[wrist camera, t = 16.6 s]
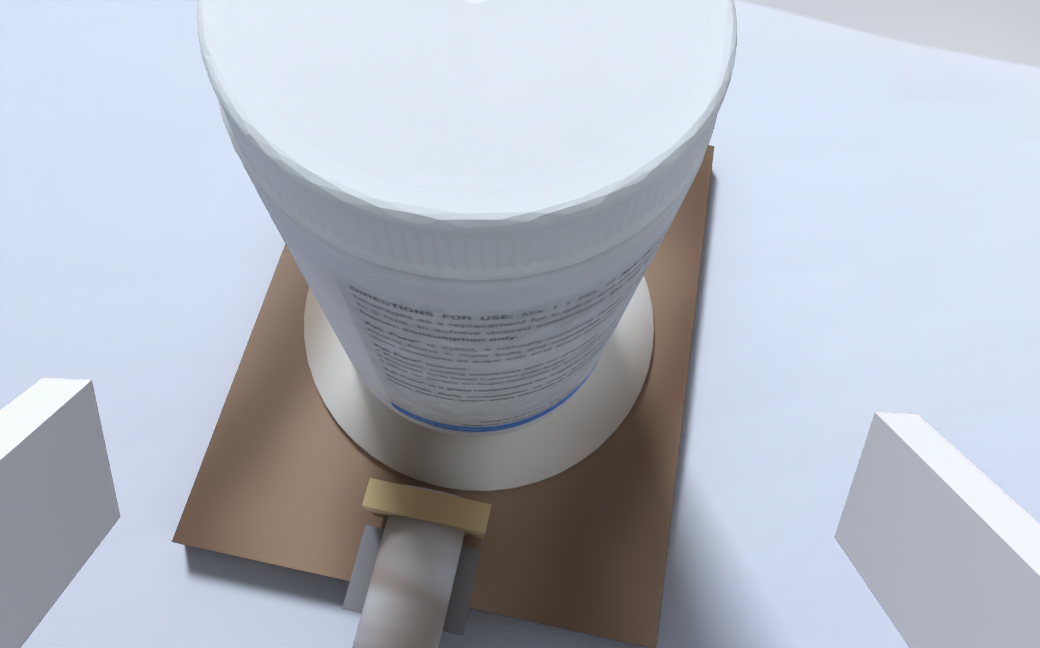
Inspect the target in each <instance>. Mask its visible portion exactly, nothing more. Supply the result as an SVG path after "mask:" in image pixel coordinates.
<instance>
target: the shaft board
mask: <svg viewBox="0 0 1040 648" xmlns="http://www.w3.org/2000/svg"><path fill="white" fill-rule="evenodd" d="M713 152H714V146H710V145H708V146H707V149H706V152H705V155H704V158H703V161H702V164H701V166H700V168H699V170H698V172H697V174H696V176H695V178H694V180H693V182H692V184H691V186H690V188H689V190H688V192H687V194H686V196H685V198H684V200H683V202H682V204H681V206H680V208H679V210H678V212H677V214H676V216H675V218H674V220H673V222H672V223H671V225H670V227H669V229H668V231H667V233H666V235H665V237H664V239H663V240H662V242H661V244H660V246H659V248H658V250H657V252H656V254H655V255H654V257H653V259H652V261H651V263H650V265H649V267H648V269H647V270H646V272H645V274H644V276H643V278H642V280H641V282H640V284H639V285H638V287H637V289H636V291H635V293H634V295H633V297H632V299H631V300H630V302H629V304H628V306H627V308H626V310H625V312H624V314H623V316H622V317H621V319H620V321H619V323H618V325H617V327H616V329H615V331H614V333H613V334H612V336H611V338H610V340H609V342H608V344H607V346H606V348H605V349H604V351H603V353H602V355H601V357H600V359H599V361H598V362H597V364H596V366H595V368H594V369H593V371H592V373H591V374H590V376H589V377H588V379H587V380H586V382H585V383H584V385H583V386H582V387H581V388H580V389H579V390H578V392H577V393H576V394H575V395H574V396H573V397H572V399H571V400H570V401H569V402H567V403H566V404H565V405H564V406H563V407H561V408H560V409H559V410H557V411H556V412H554V413H553V414H552V415H550V416H549V417H547V418H545V419H543V420H541V421H539V422H537V423H535V424H533V425H531V426H528V427H526V428H523V429H521V430H518V431H514V432H511V433H506V434H501V435H495V436H486V437H466V436H456V435H451V434H446V433H442V432H438V431H435V430H432V429H429V428H426V427H423V426H420V425H418V424H416V423H413V422H411V421H409V420H407V419H406V418H404V417H402V416H400V415H399V414H397V413H396V412H394V411H393V410H392V409H390V408H389V407H387V406H386V405H385V404H384V403H383V402H382V401H380V400H379V399H378V398H377V397H376V396H375V395H374V394H373V393H372V392H371V391H370V389H369V388H368V387H367V386H366V384H365V383H364V381H363V380H362V379H361V377H360V376H359V374H358V372H357V371H356V369H355V367H354V366H353V364H352V362H351V361H350V359H349V357H348V355H347V354H346V352H345V350H344V348H343V346H342V345H341V343H340V341H339V339H338V337H337V336H336V334H335V332H334V330H333V328H332V327H331V325H330V323H329V321H328V320H327V318H326V316H325V314H324V312H323V311H322V309H321V307H320V305H319V303H318V302H317V300H316V298H315V296H314V294H313V293H312V291H311V289H310V287H309V285H308V284H307V282H306V280H305V278H304V276H303V275H302V273H301V271H300V269H299V267H298V266H297V264H296V262H295V260H294V258H293V256H292V255H291V253H290V251H289V249H288V247H287V245H286V244H285V247H284V249H283V252H282V254H281V257H280V260H279V262H278V265H277V268H276V270H275V273H274V275H273V278H272V281H271V283H270V286H269V288H268V291H267V294H266V296H265V299H264V302H263V304H262V307H261V309H260V312H259V315H258V317H257V320H256V323H255V325H254V328H253V330H252V333H251V336H250V338H249V341H248V343H247V346H246V349H245V351H244V354H243V357H242V359H241V362H240V364H239V367H238V370H237V372H236V375H235V378H234V380H233V383H232V385H231V388H230V391H229V393H228V396H227V398H226V401H225V404H224V406H223V409H222V412H221V414H220V417H219V419H218V422H217V425H216V427H215V430H214V433H213V435H212V438H211V440H210V443H209V446H208V448H207V451H206V453H205V456H204V459H203V461H202V464H201V467H200V469H199V472H198V474H197V477H196V480H195V482H194V485H193V488H192V490H191V493H190V495H189V498H188V501H187V503H186V506H185V508H184V511H183V514H182V516H181V519H180V522H179V524H178V527H177V529H176V532H175V535H174V537H173V540H172V542H175V543H179V544H184V545H188V546H193V547H197V548H202V549H206V550H211V551H215V552H220V553H224V554H229V555H233V556H238V557H242V558H247V559H251V560H256V561H260V562H265V563H269V564H274V565H278V566H283V567H288V568H292V569H297V570H301V571H306V572H310V573H315V574H319V575H324V576H328V577H333V578H337V579H342V580H346V581H350V582H349V586H348V589H347V593H346V596H345V600H344V603H343V607H342V609H347V610H351V611H356V612H360V613H362V614H361V618H360V622H359V625H358V629H357V633H356V636H355V640H354V644H353V648H439V645H440V640H441V636H442V631H446V632H450V633H455V634H459V635H463V632H464V627H465V623H466V618H467V613H468V609H469V608H473V609H477V610H482V611H486V612H491V613H495V614H500V615H504V616H509V617H513V618H518V619H522V620H527V621H531V622H536V623H541V624H545V625H550V626H554V627H559V628H563V629H568V630H572V631H577V632H581V633H586V634H590V635H595V636H599V637H604V638H608V639H613V640H617V641H622V642H626V643H631V644H635V645H640V646H644V647H649V648H656V643H657V635H658V626H659V617H660V609H661V600H662V591H663V583H664V574H665V566H666V557H667V548H668V540H669V531H670V523H671V514H672V505H673V497H674V488H675V480H676V471H677V462H678V454H679V445H680V436H681V428H682V419H683V411H684V402H685V393H686V385H687V376H688V368H689V359H690V350H691V342H692V333H693V325H694V316H695V307H696V299H697V290H698V281H699V273H700V264H701V256H702V247H703V238H704V230H705V221H706V213H707V204H708V195H709V187H710V178H711V170H712V161H713Z"/></svg>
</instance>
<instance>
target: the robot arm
mask: <svg viewBox="0 0 1040 648" xmlns="http://www.w3.org/2000/svg"><path fill="white" fill-rule="evenodd" d="M119 518H120V513H119V508H118V503H117V499H116V494H115V489H114V484H113V479H112V475H111V470H110V465H109V460H108V455H107V450H106V446H105V441H104V436H103V431H102V426H101V422H100V417H99V412H98V407H97V402H96V398H95V393H94V388H93V383H92V380H80V379H56V378H42V379H40V380H39V381H38V382H36V383H35V384H34V385H33V386H31V387H30V388H29V389H27V390H26V391H25V392H24V393H22V394H21V395H20V396H18V397H17V398H16V399H14V400H13V401H12V402H11V403H9V404H8V405H7V406H5V407H4V408H3V409H2V410H0V648H21V647H22V645H23V644H24V643H25V641H26V640H27V639H28V637H29V636H30V635H31V633H32V632H33V631H34V629H35V628H36V627H37V626H38V624H39V623H40V622H41V620H42V619H43V618H44V616H45V615H46V614H47V612H48V611H49V610H50V608H51V607H52V606H53V605H54V603H55V602H56V601H57V599H58V598H59V597H60V595H61V594H62V593H63V591H64V590H65V589H66V587H67V586H68V585H69V584H70V582H71V581H72V580H73V578H74V577H75V576H76V574H77V573H78V572H79V570H80V569H81V568H82V566H83V565H84V564H85V563H86V561H87V560H88V559H89V557H90V556H91V555H92V553H93V552H94V551H95V549H96V548H97V547H98V545H99V544H100V543H101V542H102V540H103V539H104V538H105V536H106V535H107V534H108V532H109V531H110V530H111V528H112V527H113V526H114V525H115V523H116V522H117V521H118V519H119ZM835 539H836V540H837V542H838V543H839V545H840V546H841V548H842V549H843V551H844V552H845V554H846V555H847V557H848V558H849V560H850V561H851V562H852V564H853V565H854V567H855V568H856V570H857V571H858V573H859V574H860V576H861V577H862V579H863V580H864V582H865V583H866V585H867V586H868V588H869V589H870V590H871V592H872V593H873V595H874V596H875V598H876V599H877V601H878V602H879V604H880V605H881V607H882V608H883V610H884V611H885V613H886V614H887V616H888V617H889V618H890V620H891V621H892V623H893V624H894V626H895V627H896V629H897V630H898V632H899V633H900V635H901V636H902V638H903V639H904V641H905V642H906V644H907V645H908V646H909V648H1040V524H1039V523H1038V522H1037V521H1036V520H1035V519H1033V518H1032V517H1031V516H1030V515H1029V514H1028V513H1027V512H1026V511H1025V510H1023V509H1022V508H1021V507H1020V506H1019V505H1018V504H1017V503H1016V502H1015V501H1013V500H1012V499H1011V498H1010V497H1009V496H1008V495H1007V494H1006V493H1005V492H1003V491H1002V490H1001V489H1000V488H999V487H998V486H997V485H996V484H995V483H993V482H992V481H991V480H990V479H989V478H988V477H987V476H986V475H985V474H983V473H982V472H981V471H980V470H979V469H978V468H977V467H976V466H975V465H973V464H972V463H971V462H970V461H969V460H968V459H967V458H966V457H965V456H963V455H962V454H961V453H960V452H959V451H958V450H957V449H956V448H954V447H953V446H952V445H951V444H950V443H949V442H948V441H947V440H946V439H944V438H943V437H942V436H941V435H940V434H939V433H938V432H937V431H936V430H934V429H933V428H932V427H931V426H930V425H929V424H928V423H927V422H926V421H924V420H923V419H922V418H921V417H920V416H919V415H918V414H904V413H880V412H875V414H874V417H873V420H872V423H871V426H870V429H869V433H868V436H867V439H866V442H865V445H864V448H863V451H862V454H861V457H860V460H859V463H858V466H857V469H856V473H855V476H854V479H853V482H852V485H851V488H850V491H849V494H848V497H847V500H846V503H845V506H844V510H843V513H842V516H841V519H840V522H839V525H838V528H837V531H836V534H835Z"/></svg>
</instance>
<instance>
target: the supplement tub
mask: <svg viewBox="0 0 1040 648" xmlns="http://www.w3.org/2000/svg"><path fill="white" fill-rule="evenodd" d="M197 17H198V36H199V42H200V48H201V54H202V58H203V62H204V65H205V68H206V71H207V73H208V76H209V79H210V82H211V84H212V86H213V89H214V91H215V93H216V95H217V97H218V101H219V106H220V110H221V114H222V119H223V122H224V124H225V127H226V129H227V132H228V134H229V136H230V139H231V141H232V144H233V146H234V148H235V151H236V153H237V154H238V156H239V157H240V159H241V161H242V163H243V165H244V167H245V169H246V171H247V173H248V175H249V177H250V178H251V180H252V182H253V184H254V186H255V188H256V190H257V192H258V194H259V196H260V198H261V199H262V201H263V203H264V205H265V207H266V209H267V210H268V212H269V214H270V216H271V218H272V220H273V221H274V223H275V225H276V227H277V229H278V231H279V232H280V234H281V236H282V238H283V240H284V242H285V244H286V245H287V247H288V249H289V251H290V253H291V255H292V256H293V258H294V260H295V262H296V264H297V266H298V267H299V269H300V271H301V273H302V275H303V276H304V278H305V280H306V282H307V284H308V285H309V287H310V289H311V291H312V293H313V294H314V296H315V298H316V300H317V302H318V303H319V305H320V307H321V309H322V311H323V312H324V314H325V316H326V318H327V320H328V321H329V323H330V325H331V327H332V328H333V330H334V332H335V334H336V336H337V337H338V339H339V341H340V343H341V345H342V346H343V348H344V350H345V352H346V354H347V355H348V357H349V359H350V361H351V362H352V364H353V366H354V367H355V369H356V371H357V372H358V374H359V376H360V377H361V379H362V380H363V381H364V383H365V384H366V386H367V387H368V388H369V389H370V391H371V392H372V393H373V394H374V395H375V396H376V397H377V398H378V399H379V400H380V401H382V402H383V403H384V404H385V405H386V406H387V407H389V408H390V409H392V410H393V411H394V412H396V413H397V414H399V415H400V416H402V417H404V418H406V419H407V420H409V421H411V422H413V423H416V424H418V425H420V426H423V427H426V428H429V429H432V430H435V431H438V432H442V433H446V434H451V435H456V436H466V437H486V436H495V435H501V434H506V433H511V432H514V431H518V430H521V429H523V428H526V427H528V426H531V425H533V424H535V423H537V422H539V421H541V420H543V419H545V418H547V417H549V416H550V415H552V414H553V413H554V412H556V411H557V410H559V409H560V408H561V407H563V406H564V405H565V404H566V403H567V402H569V401H570V400H571V399H572V397H573V396H574V395H575V394H576V393H577V392H578V390H579V389H580V388H581V387H582V386H583V385H584V383H585V382H586V380H587V379H588V377H589V376H590V374H591V373H592V371H593V369H594V368H595V366H596V364H597V362H598V361H599V359H600V357H601V355H602V353H603V351H604V349H605V348H606V346H607V344H608V342H609V340H610V338H611V336H612V334H613V333H614V331H615V329H616V327H617V325H618V323H619V321H620V319H621V317H622V316H623V314H624V312H625V310H626V308H627V306H628V304H629V302H630V300H631V299H632V297H633V295H634V293H635V291H636V289H637V287H638V285H639V284H640V282H641V280H642V278H643V276H644V274H645V272H646V270H647V269H648V267H649V265H650V263H651V261H652V259H653V257H654V255H655V254H656V252H657V250H658V248H659V246H660V244H661V242H662V240H663V239H664V237H665V235H666V233H667V231H668V229H669V227H670V225H671V223H672V222H673V220H674V218H675V216H676V214H677V212H678V210H679V208H680V206H681V204H682V202H683V200H684V198H685V196H686V194H687V192H688V190H689V188H690V186H691V184H692V182H693V180H694V178H695V176H696V174H697V172H698V170H699V168H700V166H701V164H702V161H703V158H704V155H705V152H706V149H707V146H708V144H709V141H710V138H711V136H712V133H713V130H714V126H715V122H716V117H717V114H718V111H719V109H720V107H721V104H722V102H723V99H724V97H725V94H726V91H727V88H728V86H729V83H730V80H731V75H732V70H733V66H734V61H735V54H736V45H737V18H736V9H735V4H734V0H199V1H198V12H197Z"/></svg>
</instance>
